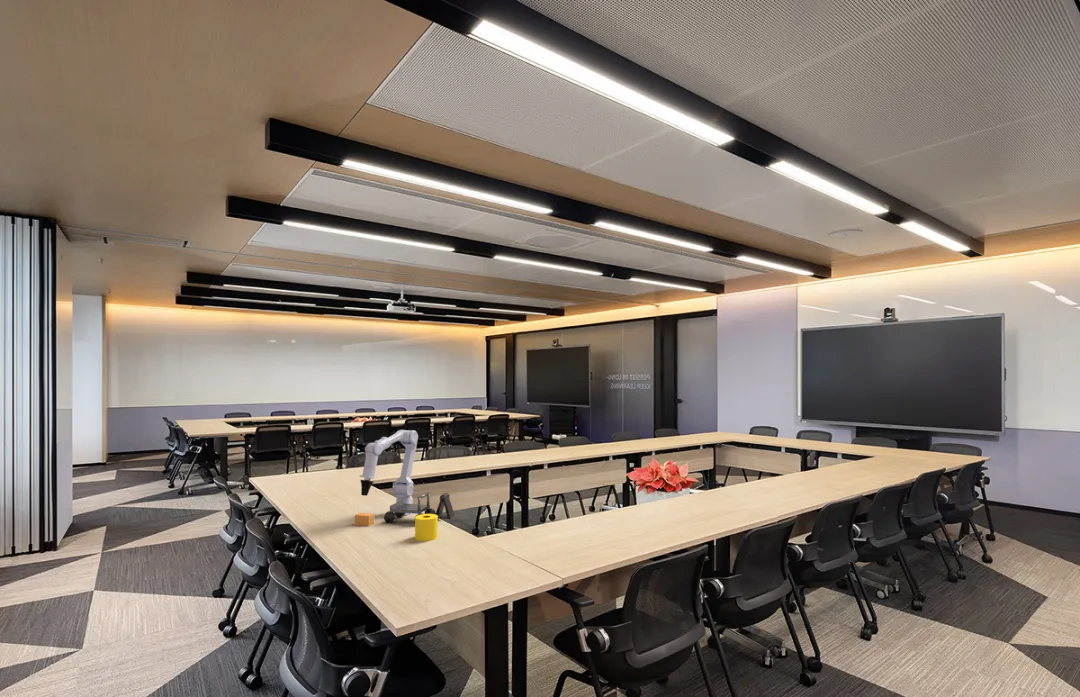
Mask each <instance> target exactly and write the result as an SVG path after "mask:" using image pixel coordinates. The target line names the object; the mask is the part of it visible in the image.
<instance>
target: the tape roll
mask: <svg viewBox="0 0 1080 697" xmlns="http://www.w3.org/2000/svg"><path fill="white" fill-rule="evenodd" d="M415 516H416V515H415ZM414 523H415V524H414V525H415V526H414V540H416V541H419V542H429V541H430V542H431V541H434V540H437V539H438V538H439V536H438V535H439V534H438V529H439V527H438V524H439V522H438V516H437V515H435V514H424V513H423V514H422V515H418V516H416V517H414Z"/></svg>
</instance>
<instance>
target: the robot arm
mask: <svg viewBox="0 0 1080 697" xmlns="http://www.w3.org/2000/svg"><path fill="white" fill-rule="evenodd" d="M418 440H419V435H418V432H417V431H416V430H413V429H412V430H411V429H410V430H406V429H399V430H397V431H396V432H395V433H394V434H392V435H390V436H389V437H387V436H382V437H381V438H380V439H378V440H375V441H374V442H369V443H368V444H366V446H364V452H365V454H364V455H365V461H364V465H363V470H362V474H360V475H359V477H360V478H363V479H360V485H361V486H360V487H361V492H360V493H361V496H364V497H365V496H369V495H368V494H369V492H370V490H371V487H372V486H373V484H374V482H375V481H374V479H375V475H376V474H375V473H376V468H377V464H378V459H379V455H381V454H382V452H383V451H385V450H387V449H388V448H390V447H391V445H392V444H393V443H396V442H400V443H401V445H403V447H405V450H404V455H403V456H404V457H403V462H402V467H401V472H400V476H399V477H398V478H397V479H396V480H395V483H394V485H393V488H392V491H393V492H392V493H393V494H394V495H395V496H394V497H396V498H395V499H396V500H395V503H397V502H399V501H403V503H404V504H414V499H413V496H412V495H413V494H414V482H413V480H412V479H411V475H412V470H413V467H414V462H415V456H416V452H417V447H418V446H417V444H418ZM372 479H373V480H372ZM394 514H395V513H394ZM410 514H411V513H405V515H404V516H408V515H410Z"/></svg>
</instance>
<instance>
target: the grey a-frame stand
mask: <svg viewBox="0 0 1080 697" xmlns="http://www.w3.org/2000/svg"><path fill="white" fill-rule="evenodd" d="M444 510H445V514H443V512H444ZM435 513H436V515H437V516H438V519H439V520H440V519H441V520H442V519H443V520H451V519H453V518H454V517H455V516H456V514H455V512H454V508H453V506H452V502H451V500H450V493H449V492H444V493H442V494H441V495H440V496H439V503H438V505H437V509H436V510H435Z"/></svg>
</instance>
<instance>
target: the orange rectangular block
mask: <svg viewBox="0 0 1080 697" xmlns="http://www.w3.org/2000/svg"><path fill="white" fill-rule="evenodd" d="M372 525H375V513H368V512H358V513H355V514H354V526H363V527H364V526H365V527H370V526H372Z"/></svg>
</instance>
